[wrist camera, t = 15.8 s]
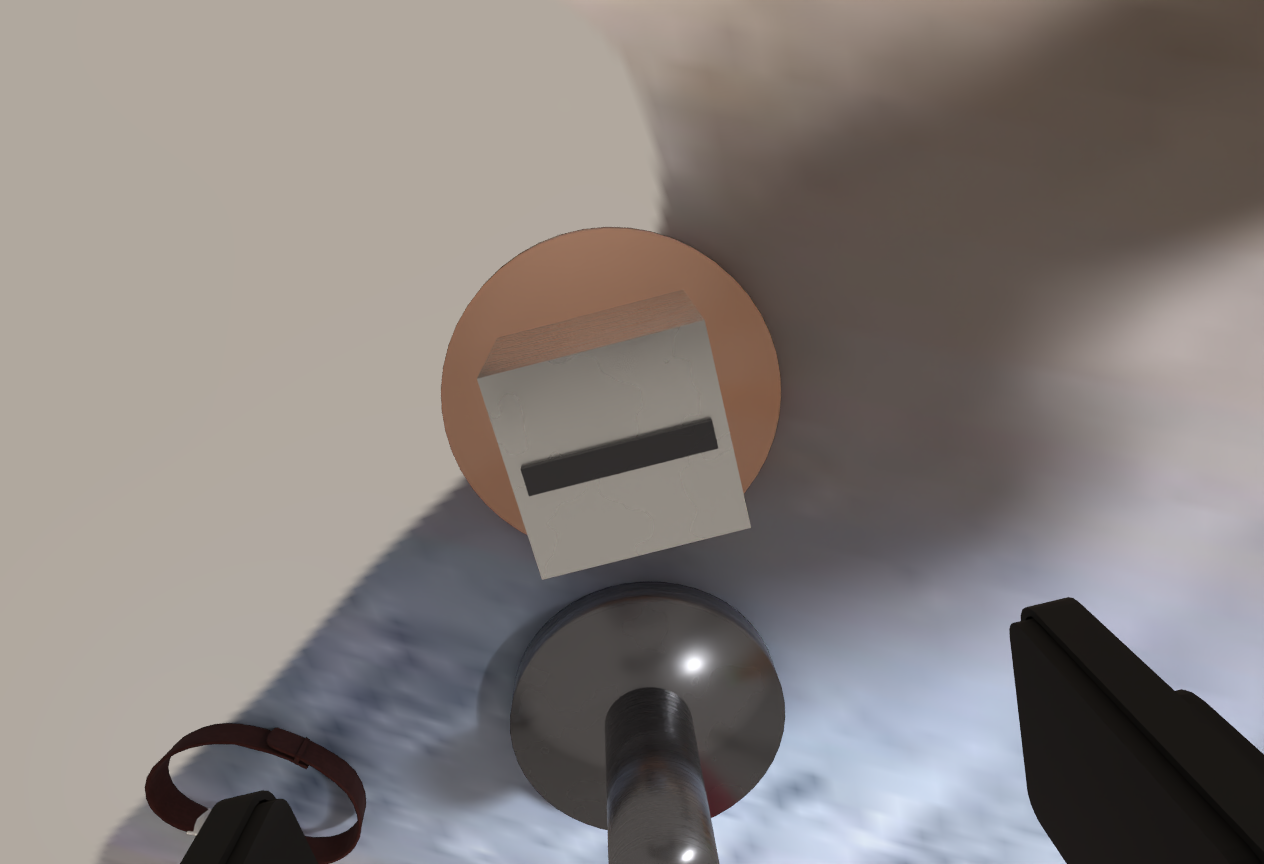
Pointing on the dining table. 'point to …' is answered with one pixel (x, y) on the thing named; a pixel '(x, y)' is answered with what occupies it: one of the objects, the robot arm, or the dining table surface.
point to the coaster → (594, 281)
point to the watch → (275, 742)
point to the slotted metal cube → (614, 434)
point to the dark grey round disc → (647, 717)
